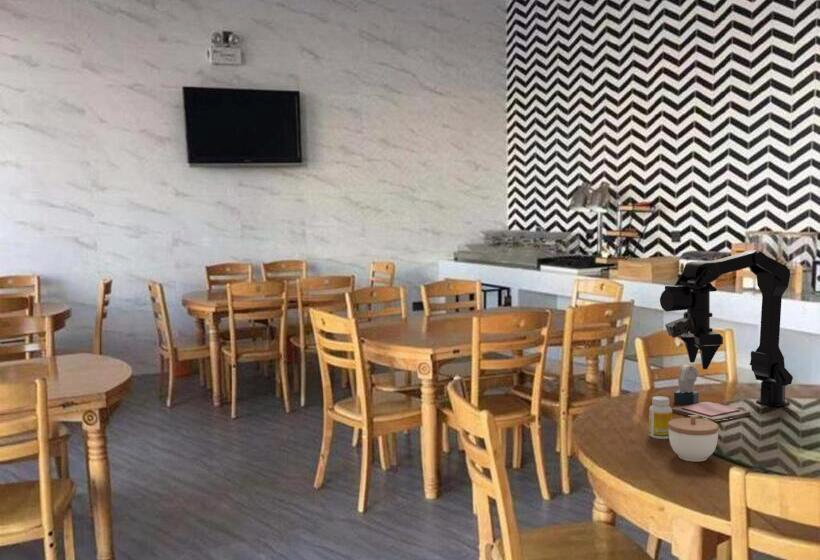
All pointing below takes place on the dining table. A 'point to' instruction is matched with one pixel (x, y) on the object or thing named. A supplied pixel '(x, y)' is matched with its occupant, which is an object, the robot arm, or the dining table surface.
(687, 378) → the watch
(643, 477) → the dining table surface
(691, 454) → the lidded jar
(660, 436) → the supplement bottle
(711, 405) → the pink square tray
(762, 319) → the robot arm
